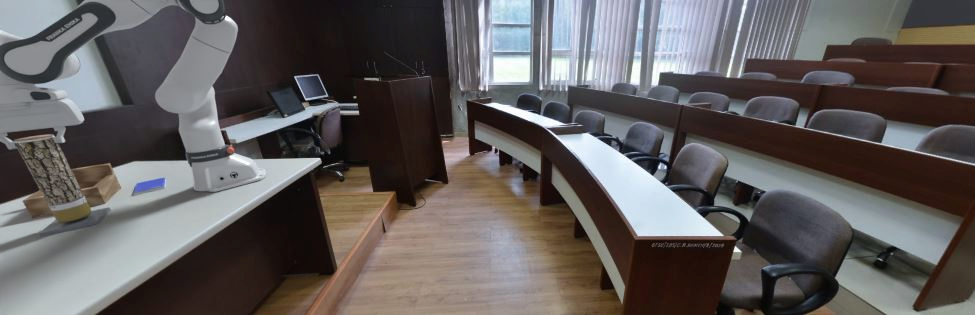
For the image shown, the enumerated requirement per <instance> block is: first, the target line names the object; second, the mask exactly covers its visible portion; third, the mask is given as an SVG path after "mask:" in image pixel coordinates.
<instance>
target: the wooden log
mask: <svg viewBox="0 0 975 315" xmlns="http://www.w3.org/2000/svg"><path fill="white" fill-rule="evenodd" d="M53 137H56V136H55V135H54V134H40V135H33V136H27V137H21V138H16V139H13V140H12V141H13V142H14V143H15V145H16V147H17V150H18V152H19V154H20V156H21V158H22V159H23V161H24V163H25V166H26V167H27V169H28V171H29V173H30V174H31V176H32V179H33V180H34V182H35V183H36V186H37V188H38V189H39V190H40V191H41V193H42V195H43V197H44V198H45V200H46V202H47V204H48V206H49V208H50V209H51V211H52V213H53V214H52V215H53V216H54V218H55V220H57V221H58V222H70V221H75V220H78V219H81V218H84V217H86V216H88V215H90V214H91V212H92V211H93V210H92V209H91V206H90V207H89V205H88V203H87V200H86V198H85V196H84V194H83V192H82V190H81V188H80V186H79V184H78V182H77V180H76V178H75V176H74V174H73V172H72V170H71V169H72V168H71V167H70V164H69V163H68V160H67V158H66V157H65V154H64V152H63V151H62V148H61V146H60V143H57V144H55V143H54V140H53V139H52V138H53Z"/></svg>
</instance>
